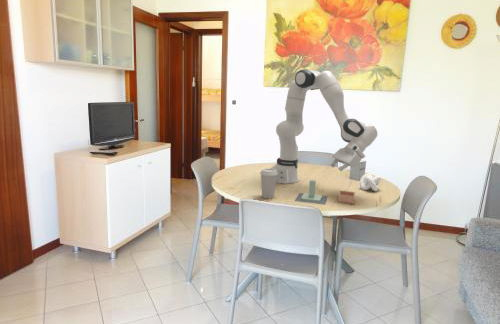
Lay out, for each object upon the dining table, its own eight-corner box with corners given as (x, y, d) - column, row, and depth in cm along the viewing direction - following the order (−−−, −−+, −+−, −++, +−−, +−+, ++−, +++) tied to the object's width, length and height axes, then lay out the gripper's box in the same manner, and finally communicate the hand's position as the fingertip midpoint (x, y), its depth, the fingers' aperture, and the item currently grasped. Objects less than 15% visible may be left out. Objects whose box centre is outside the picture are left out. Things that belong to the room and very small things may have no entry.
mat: (294, 201, 186) (294, 201, 186) (299, 193, 201) (299, 192, 201) (325, 205, 182) (325, 204, 182) (327, 196, 197) (328, 196, 197)
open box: (338, 202, 187) (338, 194, 186) (338, 198, 194) (339, 190, 193) (353, 204, 184) (354, 196, 183) (354, 200, 192) (354, 192, 191)
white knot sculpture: (356, 190, 212) (357, 175, 210) (362, 186, 222) (363, 172, 220) (375, 193, 206) (377, 178, 204) (380, 189, 216) (382, 174, 214)
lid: (300, 200, 188) (302, 181, 186) (303, 194, 197) (304, 177, 195) (320, 202, 185) (321, 183, 183) (321, 197, 195) (323, 179, 193)
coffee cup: (280, 197, 194) (281, 170, 191) (269, 200, 187) (270, 173, 184) (266, 193, 200) (267, 167, 197) (255, 196, 193) (256, 169, 190)
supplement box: (358, 180, 235) (360, 161, 233) (349, 178, 241) (350, 159, 238) (364, 179, 240) (366, 160, 237) (355, 176, 246) (357, 158, 243)
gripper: (340, 143, 200) (323, 160, 200) (359, 148, 181) (341, 168, 180) (347, 150, 202) (330, 168, 202) (367, 157, 182) (348, 176, 182)
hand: (335, 168), depth 191 cm, fingers open, 8 cm apart
